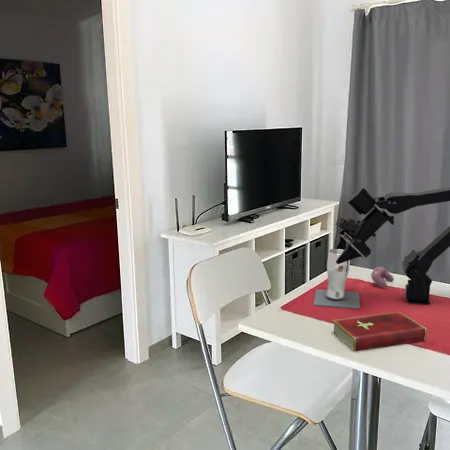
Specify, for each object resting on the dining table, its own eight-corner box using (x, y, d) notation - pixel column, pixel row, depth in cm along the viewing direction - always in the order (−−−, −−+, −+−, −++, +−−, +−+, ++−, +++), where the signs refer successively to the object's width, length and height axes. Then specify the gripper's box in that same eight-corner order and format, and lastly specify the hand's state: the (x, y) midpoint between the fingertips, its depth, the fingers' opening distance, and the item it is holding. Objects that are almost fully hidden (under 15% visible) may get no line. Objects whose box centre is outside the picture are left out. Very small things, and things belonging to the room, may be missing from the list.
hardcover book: (426, 342, 127) (427, 327, 126) (353, 353, 122) (354, 337, 121) (398, 324, 139) (399, 310, 138) (331, 333, 133) (332, 319, 132)
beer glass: (343, 301, 152) (347, 256, 149) (321, 297, 155) (325, 252, 152) (348, 294, 158) (353, 250, 155) (327, 290, 161) (331, 247, 158)
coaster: (358, 293, 162) (358, 292, 162) (359, 309, 149) (359, 307, 149) (316, 290, 165) (316, 289, 165) (313, 305, 152) (313, 304, 152)
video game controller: (383, 283, 176) (375, 265, 176) (395, 280, 173) (387, 262, 173) (375, 291, 168) (366, 273, 168) (387, 288, 165) (379, 269, 165)
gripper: (344, 202, 160) (310, 236, 162) (361, 213, 141) (323, 251, 144) (367, 225, 161) (333, 258, 164) (387, 238, 143) (348, 275, 145)
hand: (334, 260), depth 154 cm, fingers closed on beer glass, 6 cm apart
